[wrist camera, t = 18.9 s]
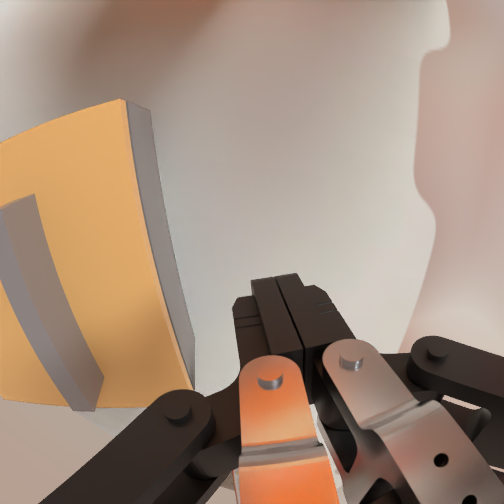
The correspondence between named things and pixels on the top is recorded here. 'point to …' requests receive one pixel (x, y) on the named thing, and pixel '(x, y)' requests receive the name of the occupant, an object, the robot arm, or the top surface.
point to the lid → (80, 270)
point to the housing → (160, 231)
